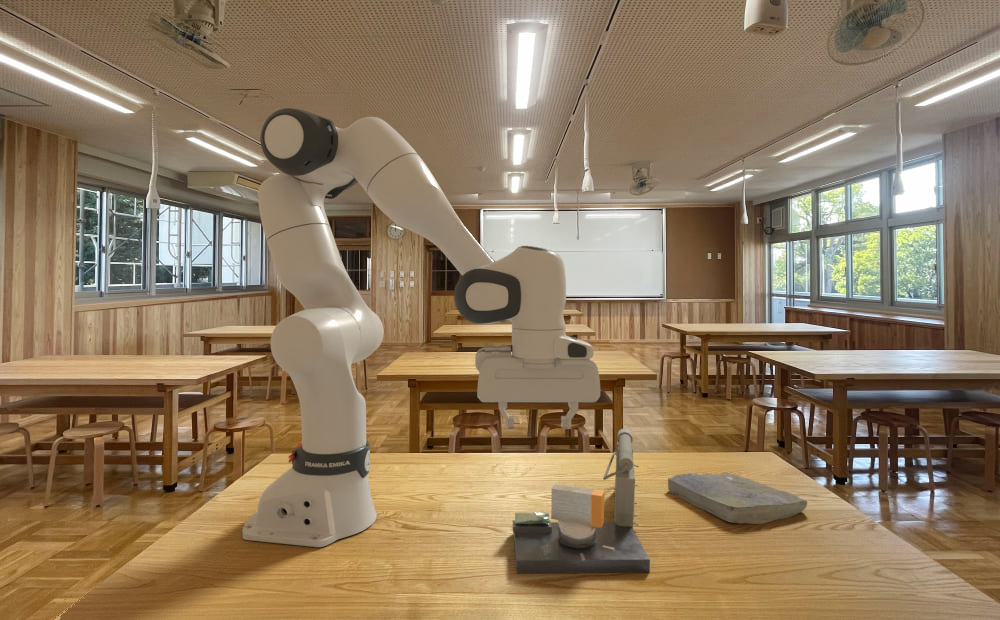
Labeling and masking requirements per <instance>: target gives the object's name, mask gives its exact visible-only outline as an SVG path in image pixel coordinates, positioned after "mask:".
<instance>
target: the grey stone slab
mask: <svg viewBox="0 0 1000 620" xmlns="http://www.w3.org/2000/svg"><path fill="white" fill-rule="evenodd" d="M667 490H668V492H670V493H671V494H673V495H674V496H676V497H678V498H680V499H682V500H684V502H686V503H689V504H691V505H693V506H694V507H695V508H699V509H700V510H703V511H705V512H708V513H709V514H712V515H713V516H715V517H717V518H719V519H721V520H723V521H724V522H725V521H726V522H727V523H733V524H740V525H741V524H747V525H749V524H750V525H761V524H763V525H764V524H767V523H770V522H771V523H772V522H773V521H777V520H784V519H787V518H790V517H793V516H796V515H798V514H800V513H803V512H804V511H805V510H806V508H807V506H808V500H807V499H803V498H801V497H799V496H797V495H795V494H793V493H790V492H788V491H785V490H781V489H780V490H779V489H776V488H775V487H771V486H768V485H766V484H763V483H760V482H758V481H755V480H753V479H749V478H747V477H744V476H740V475H736V474H735V473H734V474H733V473H729V472H721V473H718V474H716V473H714V474H713V473H703V474H698V473H695V472H690V473H681V474H676V475H675V476H674V475H673V476H672V477H668V478H667Z"/></svg>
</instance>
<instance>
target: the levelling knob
mask: <svg viewBox="0 0 1000 620" xmlns="http://www.w3.org/2000/svg"><path fill="white" fill-rule="evenodd" d="M550 497H551V499H550V500H551V501H550V502H551V506H550V507H551V508H550V511H551V516H550V519H551V520H556V521H557V522H558V539H559V541H560V542H561V543H562V544H564V545H566V546H569V547H573V548H586V547H590V546H592V545H593V544H594V543H595V542H596V527H598V528H602V525H603V523H604V522H605V490H601V489H600V490H599V489H590V488H584V487H583V488H582V487H579V486H578V487H576V486H570V485H563V484H557V483H554V484H553V486H552V487H551V496H550Z"/></svg>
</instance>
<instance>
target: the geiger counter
mask: <svg viewBox="0 0 1000 620" xmlns="http://www.w3.org/2000/svg"><path fill="white" fill-rule="evenodd" d="M616 440H617V442H616V451H613V452H612V455H611V457H610V459H609V460H610V461H609V463H608V465H607V468H606V470H605V473H604V475H603V481H605V480H608V479H609V478H611V477H613V476H615V480H614V481H615V482H614V483H615V484H614V522H615V525H620V526H631V527H632V529H633V530H634V526H637V527H638V526H639V523H634V517H639V516H638V514H635V515H634V513H635V512H634V511H635V508H634V507H635V505H638V502H635V491H636V487H638V484H636V476H635V467H637V468H639V467H640V466H639V465H636V464H635V463H634V448H633V441H634V440H633V433H632V431H631V430H630V429H629V428H626V427H625V428H621V429H619V430H618V432H617V437H616ZM614 457H615V459H616V460H615V471H614V472H612V473H609V471H610V469H611V466H612V463H613V460H614ZM608 473H609V474H608Z"/></svg>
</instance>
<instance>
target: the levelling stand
mask: <svg viewBox="0 0 1000 620" xmlns="http://www.w3.org/2000/svg"><path fill="white" fill-rule="evenodd" d="M512 533H513V545H514V546H513V547H514V556H515V568H516V569H515V570H516V571H515V572H516V574H577V573H578V574H594V573H595V574H597V573H598V574H599V573H601V574H604V573H606V574H608V573H613V574H614V573H616V574H617V573H618V574H619V573H621V574H622V573H629V574H630V573H631V574H632V573H651V571H650V569H651V568H650V565H651V558H650V557H649V555H648V553H647V552H646V550H645V548H644V546H643V545H642V543H641V542H640V539H639V537H638V536H637V533H635V530H634V528H633V529H632V527H631V526H620V525H615V521H604V523H603V525H602V528H598V527H596V542H595V543H594V544H593V545H592V546H590V547H586V548H573V547H569V546H566V545H564V544H562V543H561V542H560V541H559V539H558V521H556V522H555V521H554V522H553V521H551V520H550V513H549V512H536V511H532V512H515V513H514V520H512Z"/></svg>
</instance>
